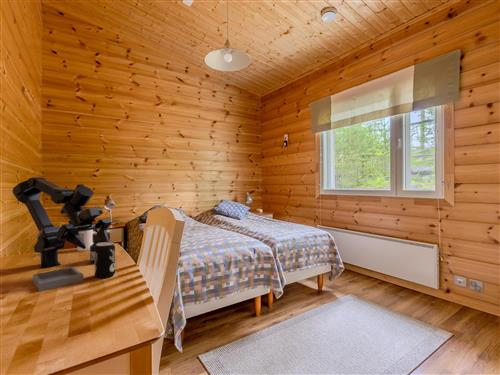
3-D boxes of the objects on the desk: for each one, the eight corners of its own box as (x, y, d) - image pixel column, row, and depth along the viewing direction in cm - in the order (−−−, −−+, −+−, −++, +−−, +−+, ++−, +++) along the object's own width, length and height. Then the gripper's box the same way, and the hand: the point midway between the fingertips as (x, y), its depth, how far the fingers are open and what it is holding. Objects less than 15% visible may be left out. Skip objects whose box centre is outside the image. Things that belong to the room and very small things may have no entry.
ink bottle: (86, 260, 115) (86, 233, 115) (107, 256, 122) (107, 230, 122) (94, 265, 109) (94, 236, 109) (116, 260, 116) (116, 233, 116)
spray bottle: (81, 248, 137) (81, 213, 137) (95, 247, 138) (95, 213, 137) (74, 251, 130) (74, 215, 130) (88, 251, 131) (88, 215, 130)
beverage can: (106, 280, 93) (106, 246, 92) (90, 278, 94) (90, 245, 94) (119, 273, 99) (119, 242, 99) (103, 272, 100) (103, 241, 100)
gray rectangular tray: (32, 281, 90) (32, 274, 90) (73, 273, 99) (73, 266, 99) (39, 291, 82) (39, 283, 82) (83, 281, 91) (83, 274, 91)
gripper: (61, 201, 91) (83, 235, 87) (108, 198, 108) (128, 227, 104) (46, 223, 94) (67, 257, 90) (94, 217, 111) (114, 245, 107)
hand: (96, 245), depth 98 cm, fingers open, 9 cm apart
